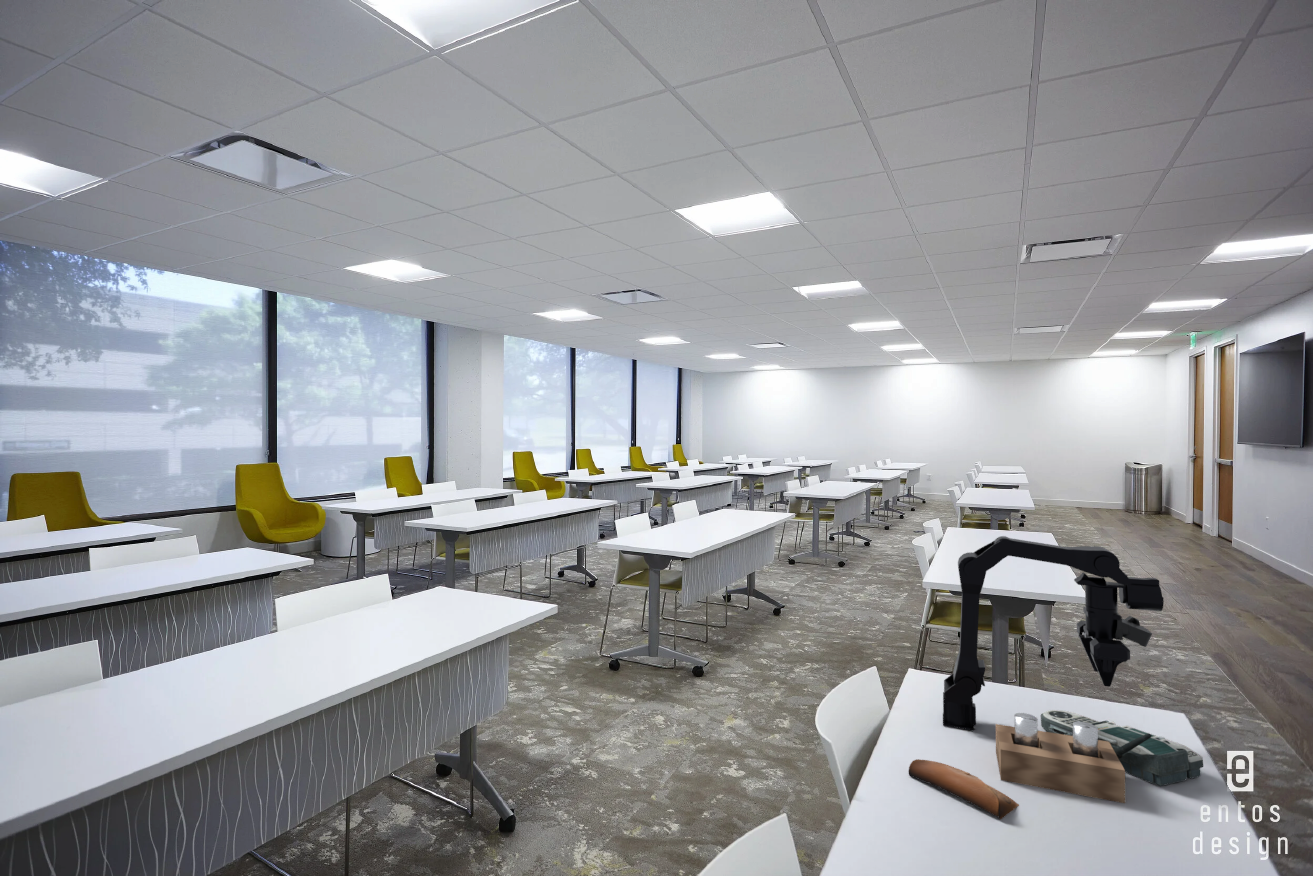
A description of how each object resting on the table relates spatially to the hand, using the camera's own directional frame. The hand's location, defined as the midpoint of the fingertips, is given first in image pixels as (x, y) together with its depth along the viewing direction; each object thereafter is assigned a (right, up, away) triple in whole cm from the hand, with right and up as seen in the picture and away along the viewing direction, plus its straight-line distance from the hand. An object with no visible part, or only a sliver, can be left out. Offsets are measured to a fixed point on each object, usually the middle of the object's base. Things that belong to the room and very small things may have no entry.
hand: (1101, 678), depth 137 cm
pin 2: (-13, -10, -14) cm, 21 cm away
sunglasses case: (-38, -16, -17) cm, 45 cm away
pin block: (-17, -15, -12) cm, 26 cm away
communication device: (0, -15, -2) cm, 15 cm away
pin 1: (-22, -10, -10) cm, 26 cm away
